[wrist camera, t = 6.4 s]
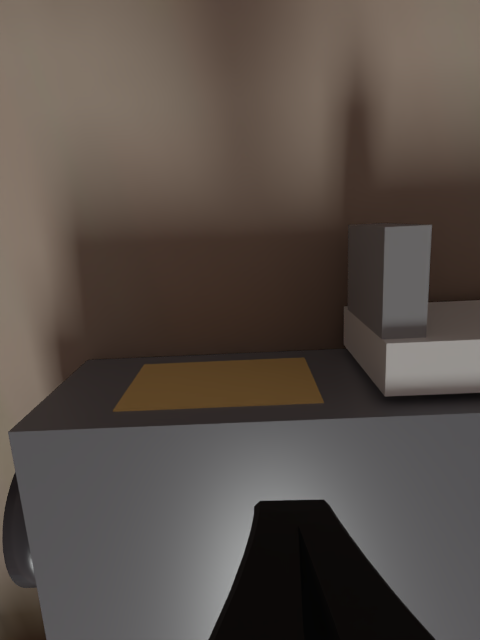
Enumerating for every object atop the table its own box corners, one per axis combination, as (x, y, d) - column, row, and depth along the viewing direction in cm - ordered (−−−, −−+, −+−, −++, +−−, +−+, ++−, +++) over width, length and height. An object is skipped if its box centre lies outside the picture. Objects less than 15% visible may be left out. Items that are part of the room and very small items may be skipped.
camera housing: (544, 338, 17) (728, 412, 11) (521, 537, 19) (663, 700, 13) (57, 360, 17) (-52, 443, 11) (86, 552, 19) (9, 718, 13)
